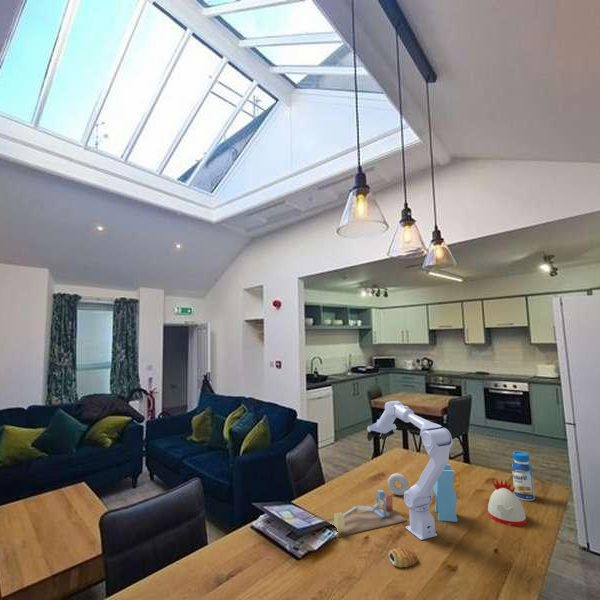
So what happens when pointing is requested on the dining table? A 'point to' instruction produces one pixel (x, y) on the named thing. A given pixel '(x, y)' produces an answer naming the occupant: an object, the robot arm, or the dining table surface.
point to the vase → (445, 496)
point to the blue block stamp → (379, 511)
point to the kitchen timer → (506, 506)
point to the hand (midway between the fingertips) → (375, 438)
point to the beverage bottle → (522, 476)
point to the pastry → (402, 557)
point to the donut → (401, 479)
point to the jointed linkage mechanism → (340, 517)
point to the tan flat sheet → (367, 522)
